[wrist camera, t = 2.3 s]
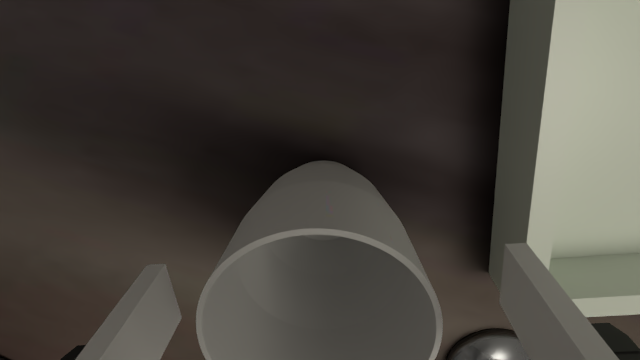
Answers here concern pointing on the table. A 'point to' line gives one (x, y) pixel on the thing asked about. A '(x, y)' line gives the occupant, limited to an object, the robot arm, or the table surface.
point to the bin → (573, 149)
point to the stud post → (489, 346)
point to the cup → (319, 278)
